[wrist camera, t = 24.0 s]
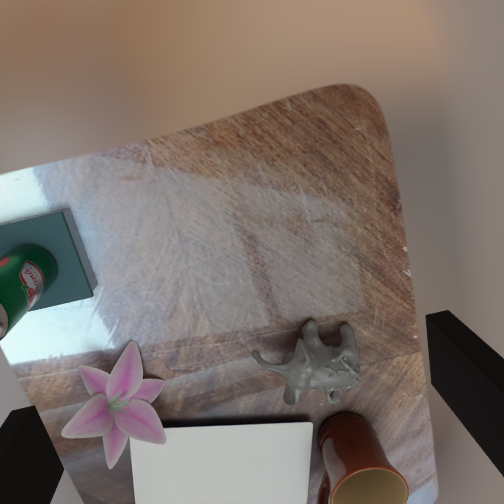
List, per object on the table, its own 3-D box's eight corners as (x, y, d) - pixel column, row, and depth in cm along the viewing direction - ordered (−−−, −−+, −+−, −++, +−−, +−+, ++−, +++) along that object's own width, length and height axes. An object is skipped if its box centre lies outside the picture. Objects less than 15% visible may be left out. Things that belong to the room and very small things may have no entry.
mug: (337, 393, 54) (364, 455, 45) (389, 421, 56) (425, 487, 47) (282, 458, 57) (296, 530, 47) (334, 483, 59) (357, 557, 50)
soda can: (61, 290, 44) (7, 354, 33) (9, 289, 43) (-64, 355, 32) (56, 243, 42) (-3, 293, 31) (2, 242, 42) (-77, 292, 30)
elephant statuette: (353, 371, 54) (374, 412, 46) (257, 387, 53) (264, 432, 46) (347, 304, 50) (370, 338, 43) (246, 321, 50) (252, 358, 43)
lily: (170, 421, 55) (191, 446, 46) (73, 459, 50) (76, 496, 41) (148, 330, 55) (165, 338, 46) (48, 359, 50) (46, 375, 41)
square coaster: (70, 205, 44) (60, 212, 41) (99, 285, 47) (92, 297, 44) (-18, 225, 44) (-34, 233, 41) (17, 304, 47) (5, 317, 44)
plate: (142, 550, 60) (140, 565, 58) (131, 419, 53) (128, 431, 51) (300, 540, 62) (303, 554, 60) (310, 412, 55) (313, 423, 53)
